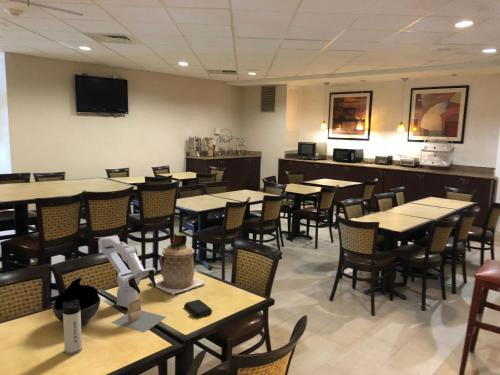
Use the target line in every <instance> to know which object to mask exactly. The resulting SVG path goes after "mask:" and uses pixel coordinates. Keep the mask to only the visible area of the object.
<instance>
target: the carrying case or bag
mask: <svg viewBox="0 0 500 375" xmlns="http://www.w3.org/2000/svg"><path fill="white" fill-rule="evenodd" d="M183 306H184V309H186V310H187V311H188V312H189V315H191V316H193V317H195V318H202V317H206V316H209V315H211V314H212V313H213V309H212V307H210V306H209V305H208V304H206V303H204V302H203V301H202V300H200V299H195V300H192V301H191V300H190V301H187V302H185V303H184V305H183Z"/></svg>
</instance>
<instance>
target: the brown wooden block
mask: <svg viewBox="0 0 500 375" xmlns="http://www.w3.org/2000/svg"><path fill="white" fill-rule="evenodd" d="M141 310H142V299H141V298H137V299H135V300H133V301H131V302H129V303H128V308H127V313H128V322H130V323H133V322H135V321H137V320H138V319H140V318H141Z"/></svg>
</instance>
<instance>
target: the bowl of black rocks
mask: <svg viewBox="0 0 500 375" xmlns="http://www.w3.org/2000/svg"><path fill="white" fill-rule="evenodd" d="M82 279H83V278H82V277H78V278H76V279H75V280H72V281H71V283H70V284H69V285H68V286H67V287H66V289H65V290H64V291H63V292H61V293H60V294H59V296H58V297H57V298H56V300H55V301H53V303H52V305H51V309H52V312H53V315H54V316H55V318H56V319H58V320H59V322H61V323H63V306H62V304H63V303H64V302H69V301H76V302H79V303H80V312H81V325H82V324H84V323H86V322H88V321H90V320H91V319H92V318H93V317H94V316H95V315H96V313H97V312H98V310H99V307H100V304H101V297H100V296H99V293H98V289H97V288H96V287H95V286H91V285H89V284H87V285H86V284H81V283H80V282H81V281H82Z"/></svg>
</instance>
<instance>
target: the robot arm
mask: <svg viewBox="0 0 500 375" xmlns="http://www.w3.org/2000/svg"><path fill="white" fill-rule="evenodd" d="M98 248H99V250H100V251H101V253H102V255H105V256H106V257H107V260H108V261H109V262H110V264H111V265H112V267H113V268H114V270H115V271H116V273H117V276H116V283H117V286H118V288H117V291H116V303H115V305H116V306H120V307H124V308H127V309H128V303H129V302H131V301H133V300H135V299H138V296H137V295H138V294H141V289H140V288H139V285H140V283H141V279H143V278H144V277H147V276H148V279H149V280H151V282H152V283H151V282H150V283H151V284H153V285H152V286H153V288H157V287H156V283H155V279H156V278H155V274H156V272H157V271H156V270H157V269H156V268H155V267H152V268H146V269H145V268H144V265H143V264H142V262H141V260H140V259H139V257H138V250H137V248H136V246H130V245H129V244H127V243H126V242H124V241H120V237H119V236H118V235H117V234H116V235H115V234H114V235H111V236H110V235H109V236H105V237H99V238H98ZM119 255H121V257H120V256H119ZM124 262H125V263H126V264H127V266H128V267H127V266H126V264H125V263H124ZM128 268H129V269H128Z"/></svg>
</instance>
